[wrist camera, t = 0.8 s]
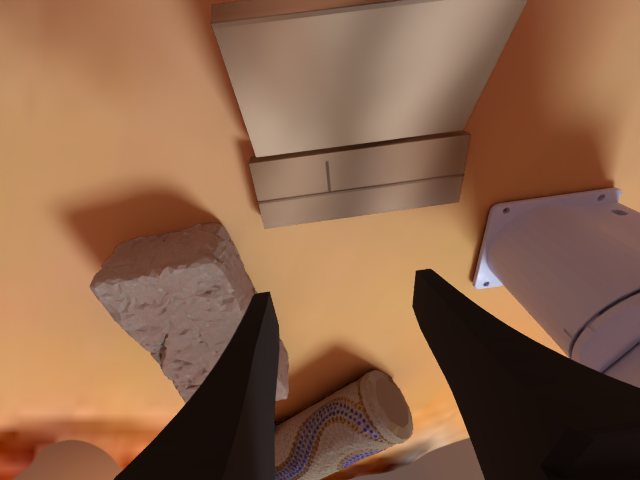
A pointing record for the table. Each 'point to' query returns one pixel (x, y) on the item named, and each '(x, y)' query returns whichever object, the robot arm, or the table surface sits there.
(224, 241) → the brick
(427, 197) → the laid board
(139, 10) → the table surface
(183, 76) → the table surface
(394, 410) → the decorative bottle
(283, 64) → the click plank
